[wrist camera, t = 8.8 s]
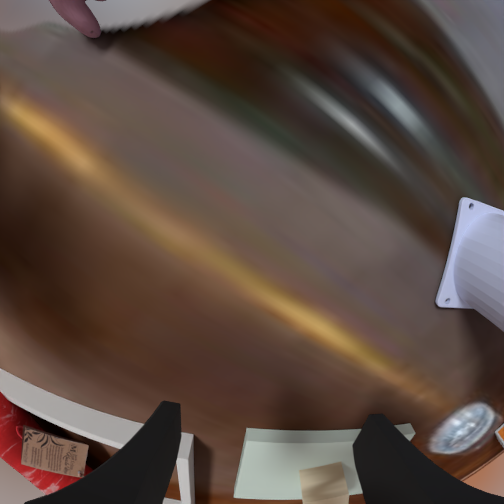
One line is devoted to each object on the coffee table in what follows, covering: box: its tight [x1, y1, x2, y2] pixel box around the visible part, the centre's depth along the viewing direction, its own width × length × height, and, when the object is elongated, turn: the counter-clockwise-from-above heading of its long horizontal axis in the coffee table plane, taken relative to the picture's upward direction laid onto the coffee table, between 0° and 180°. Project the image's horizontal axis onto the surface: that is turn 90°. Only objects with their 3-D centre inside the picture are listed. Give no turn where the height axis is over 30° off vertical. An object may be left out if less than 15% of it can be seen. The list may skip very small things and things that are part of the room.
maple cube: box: [299, 462, 349, 504], centre depth 20 cm, size 4×4×4 cm
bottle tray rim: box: [0, 368, 195, 504], centre depth 22 cm, size 31×18×3 cm, turn 83°
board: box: [234, 423, 415, 500], centre depth 22 cm, size 16×12×2 cm
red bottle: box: [0, 392, 93, 495], centre depth 19 cm, size 12×8×25 cm
